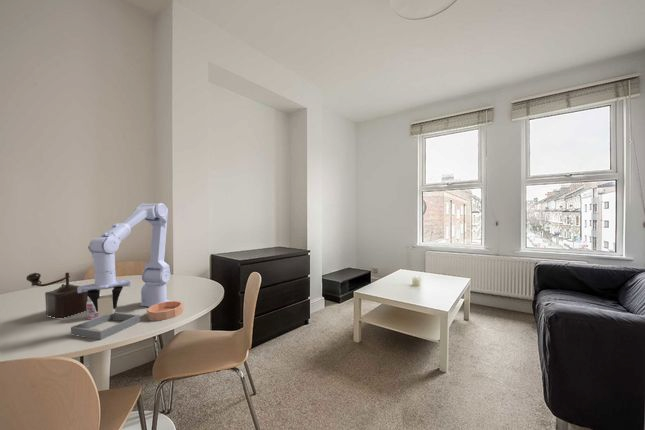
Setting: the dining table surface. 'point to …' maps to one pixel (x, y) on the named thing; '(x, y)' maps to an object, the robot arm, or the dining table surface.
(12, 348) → the dining table surface
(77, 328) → the tray
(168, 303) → the bowl
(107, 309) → the sandstone block
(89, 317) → the pill bottle
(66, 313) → the manual coffee grinder
